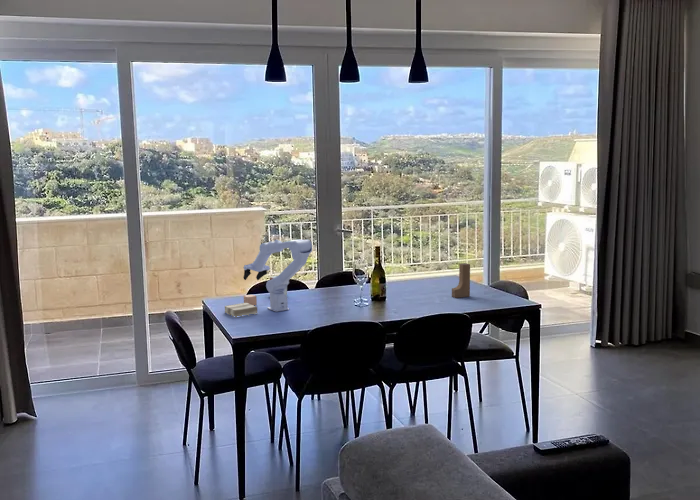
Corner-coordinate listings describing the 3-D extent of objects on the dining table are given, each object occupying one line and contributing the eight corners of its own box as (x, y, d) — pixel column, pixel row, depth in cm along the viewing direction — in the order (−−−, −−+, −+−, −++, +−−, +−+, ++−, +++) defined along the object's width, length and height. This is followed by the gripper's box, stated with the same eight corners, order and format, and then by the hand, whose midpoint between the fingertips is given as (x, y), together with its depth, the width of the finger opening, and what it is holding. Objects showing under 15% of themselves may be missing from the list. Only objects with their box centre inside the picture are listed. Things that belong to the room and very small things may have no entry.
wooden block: (455, 298, 364) (455, 265, 361) (451, 296, 368) (451, 264, 365) (470, 296, 367) (470, 264, 364) (466, 295, 371) (466, 262, 368)
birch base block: (257, 314, 336) (257, 306, 335) (235, 318, 329) (234, 310, 328) (246, 310, 345) (246, 302, 345) (225, 313, 339) (224, 305, 338)
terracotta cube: (256, 305, 355) (256, 296, 354) (248, 306, 352) (247, 297, 351) (252, 303, 359) (252, 294, 358) (243, 304, 356) (243, 295, 355)
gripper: (270, 255, 356) (260, 273, 364) (245, 254, 348) (236, 272, 355) (274, 265, 352) (264, 283, 360) (250, 264, 343) (240, 282, 351)
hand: (250, 278), depth 357 cm, fingers open, 7 cm apart
